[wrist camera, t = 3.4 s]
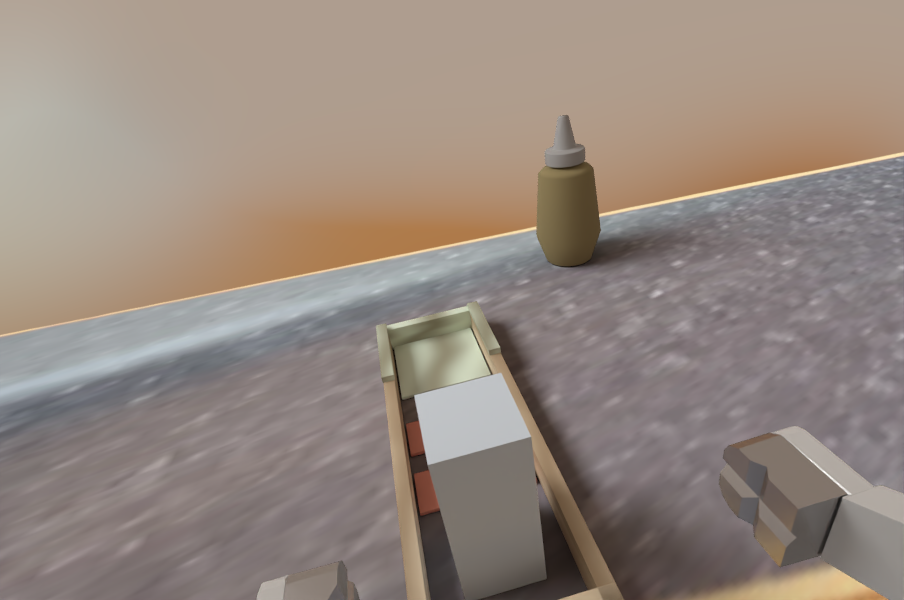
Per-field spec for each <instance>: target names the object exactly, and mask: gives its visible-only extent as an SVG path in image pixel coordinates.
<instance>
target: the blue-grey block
mask: <svg viewBox="0 0 904 600" xmlns="http://www.w3.org/2000/svg"><path fill="white" fill-rule="evenodd" d="M414 397H415V402H416V407H417V413H418V418H419V423H420V428H421V433H422V438H423V443H424V449H425V454H426V459H427V464H428V468H429V472H430V475H431V479H432V482H433V486H434V490H435V493H436V497H437V500H438V504H439V508H440V511H441V515H442V519H443V522H444V526H445V529H446V533H447V537H448V540H449V544H450V547H451V551H452V555H453V558H454V562H455V565H456V569H457V573H458V576H459V580H460V583H461V587H462V591H463V594H464V598H465V600H479V599H482V598H486V597H489V596H492V595H495V594H499V593H502V592H505V591H509V590H512V589H515V588H518V587H522V586H525V585H528V584H532V583H535V582H538V581H541V580H545V579H547V575H546V566H545V557H544V548H543V539H542V529H541V520H540V511H539V502H538V493H537V484H536V475H535V466H534V457H533V448H532V439H531V435H530V433H529V431H528V429H527V427H526V424H525V422H524V420H523V418H522V416H521V414H520V412H519V410H518V407H517V405H516V403H515V401H514V399H513V397H512V395H511V393H510V391H509V388H508V386H507V384H506V382H505V380H504V378H503V376H502V374H501V373H498V374H494V375H490V376H486V377H482V378H479V379H475V380H471V381H467V382H463V383H459V384H456V385H452V386H448V387H444V388H440V389H436V390H433V391H429V392H425V393H421V394H417V395H414Z"/></svg>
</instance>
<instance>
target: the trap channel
mask: <svg viewBox="0 0 904 600" xmlns="http://www.w3.org/2000/svg"><path fill="white" fill-rule="evenodd" d="M472 329H473V332H474V334H475V336H476V338H477V341H478V343H479V345H480V347H481V350H482V352H483V354H484V357H485V359H486V361H487V363H488V366H489V368H490V370H491V372H492V375H494V374H498V373H501V374H502V376H503V378H504V380H505V382H506V384H507V386H508V388H509V391H510V393H511V395H512V397H513V399H514V401H515V403H516V405H517V407H518V410H519V412H520V414H521V416H522V418H523V420H524V422H525V424H526V427H527V429H528V431H529V433H530V435H531V439H532V448H533V457H534V466H535V472H536V474H537V476H538V478H539V481H540V483H541V485H542V487H543V490H544V492H545V494H546V496H547V499H548V501H549V503H550V506H551V508H552V510H553V512H554V515H555V517H556V519H557V521H558V524H559V526H560V528H561V530H562V533H563V535H564V537H565V539H566V542H567V544H568V546H569V548H570V551H571V553H572V555H573V557H574V560H575V562H576V564H577V566H578V569H579V571H580V573H581V576H582V578H583V580H584V582H585V585H586V587H587V589H588V591H584V592H581V593H578V594H575V595H572V596H568V597H565V598H562V599H559V600H624V599H623V597H622V595H621V593H620V591H619V589H618V587H617V585H616V583H615V581H614V579H613V577H612V575H611V573H610V571H609V569H608V567H607V565H606V563H605V561H604V559H603V557H602V555H601V553H600V551H599V549H598V547H597V545H596V543H595V541H594V539H593V537H592V535H591V533H590V531H589V529H588V527H587V525H586V523H585V521H584V519H583V517H582V515H581V513H580V511H579V509H578V507H577V505H576V503H575V501H574V499H573V497H572V495H571V493H570V491H569V489H568V487H567V485H566V483H565V481H564V479H563V477H562V475H561V473H560V471H559V469H558V467H557V465H556V463H555V461H554V459H553V457H552V455H551V453H550V451H549V449H548V447H547V445H546V443H545V441H544V439H543V437H542V435H541V433H540V431H539V429H538V427H537V425H536V423H535V421H534V419H533V417H532V415H531V413H530V411H529V409H528V407H527V405H526V403H525V401H524V399H523V397H522V395H521V393H520V391H519V389H518V387H517V385H516V383H515V381H514V379H513V377H512V375H511V373H510V371H509V369H508V367H507V365H506V363H505V361H504V359H503V357H502V355H501V349H500V346H499V344H498V342H497V340H496V338H495V336H494V334H493V332H492V330H491V328H490V326H489V324H488V322H487V320H486V318H485V316H484V314H483V312H482V310H481V308H480V306H479V305H478V303H477V301H476V302H471V303H467V306H465V307H461V308H457V309H453V310H449V311H445V312H441V313H437V314H433V315H428V316H424V317H420V318H416V319H412V320H408V321H404V322H400V323H396V324H392V325H388V326H387V325H386V324H382V325H378V326H376V331H377V341H378V350H379V359H380V369H381V378H382V381H383V383H384V391H385V400H386V409H387V418H388V427H389V436H390V445H391V454H392V463H393V472H394V481H395V490H396V499H397V508H398V517H399V526H400V535H401V544H402V553H403V562H404V571H405V580H406V589H407V598H408V600H431V598H430V591H429V585H428V578H427V572H426V565H425V559H424V552H423V545H422V539H421V532H420V526H419V519H418V513H417V506H416V500H415V493H414V486H413V480H412V473H411V467H410V460H409V454H408V447H407V441H406V434H405V427H404V421H403V414H402V408H401V401H400V395H399V388H398V382H397V375H396V368H395V362H394V355H393V349H394V351H395V358H396V364H397V370H398V377H399V383H400V389H401V396H402V400H405V399H408V398H412V397H414V395H417V394H421V393H425V392H429V391H433V390H436V389H440V388H444V387H448V386H452V385H456V384H459V383H463V382H467V381H471V380H475V379H479V378H482V377H486V376H490V375H491V374H490V371H489V369H488V367H487V364H486V362H485V360H484V358H483V355H482V353H481V351H480V348H479V346H478V344H477V342H476V339H475V337H474V335H473V332H472ZM406 427H407V434H408V440H409V446H410V453H411V457H413V456H416V455H420V454H424V453H425V449H424V443H423V438H422V433H421V428H420V423H419V421H415V422H411V423H407V424H406ZM414 478H415V484H416V491H417V497H418V503H419V510H420V515H421V516H423V515H426V514H430V513H433V512H437V511H440V508H439V504H438V500H437V497H436V493H435V490H434V486H433V482H432V479H431V475H430V472H429V470H426V471H423V472H419V473H415V474H414ZM536 483H537V479H536Z"/></svg>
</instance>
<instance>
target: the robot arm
mask: <svg viewBox="0 0 904 600" xmlns="http://www.w3.org/2000/svg"><path fill="white" fill-rule="evenodd" d="M723 459H724V460H725V461H726V462H727V463H728V464H727V465H726V466H725V467H724V469H723V470H722V471H721V472H720V479H719V485H720V488H721V492H722V495H723V497H724V499H725V501H726V502H727V504H728V506H729V507H730V508H731V510H732V511H733V512H734V513H735V514H736V516H737V517H738V518H740V519H742V520H744V521H746V522H748V523H750V524H752V525H753V531H754V537H755V538H756V540H757V541H758V542H759V543H760V544H761V546H762V547H763V548H764V549H765V550H766V551H767V553H768V554H769V555H770V556H771V557H772V559H773V560H774V561H775V562H776V563H777V564H778V566H779V567H783V566H787V565H790V564H794V563H797V562H800V561H804V560H807V559H811V558H814V557H818V556H821V557H820V559H822V560H823V561H825V562H827V563H828V564H830V565H832V566H833V567H835V568H837V569H839V570H840V571H842V572H844V573H845V574H847V575H849V576H850V577H852V578H854V579H855V580H857V581H859V582H860V583H862V584H864V585H865V586H867V587H869V588H870V589H872V590H874V591H875V592H877V593H879V594H880V595H882V596H884V597H885V598H887V599H889V600H904V494H903V493H900V492H898V491H895V490H893V489H890V488H887V487H885V486H882V485H879V486H875V487H874V486H872V485H871V484H870V483H869V482H868V481H866V480H865V479H864V478H863V477H862V476H860V475H859V474H858V473H857V472H855V471H854V470H853V469H852V468H851V467H849V466H848V465H847V464H846V463H845V462H843V461H842V460H841V459H840V458H838V457H837V456H836V455H835V454H834V453H832V452H831V451H830V450H829V449H828V448H826V447H825V446H824V445H823V444H821V443H820V442H819V441H818V440H817V439H815V438H814V437H813V436H812V435H810V434H809V433H808V432H807V431H806V430H804V429H802V428H800V427H797V426H793V427H788V428H785V429H782V430H779V431H775V432H772V433H767V434H763V435H760V436H757V437H754V438H751V439H748V440H744V441H741V442H738V443H735V444H732V445H729V446H728V447H727V448H726V449H724V454H723ZM256 600H360V599H359V596H358V592H357V589H356V587H355V585H354V583H353V582H350V581H348V580H347V568H346V567H345V565H344V563H343V561H342V560H341V561H338V562H334V563H331V564H327V565H324V566H320V567H317V568H313V569H310V570H306V571H303V572H299V573H296V574H292V575H287V576H284V577H281V578H277V579H274V580H271V581H267V582H264V583H262V584H261V587H260V589H259V591H258V594H257V599H256Z"/></svg>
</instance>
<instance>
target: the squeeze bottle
mask: <svg viewBox="0 0 904 600" xmlns="http://www.w3.org/2000/svg"><path fill="white" fill-rule="evenodd" d="M584 160H585V147H584V146H583V145H581V144H575V140H574V136H573V132H572V128H571V124H570V120H569V116H568V115H563V116H559V117H558V120H557V126H556V133H555V139H554V145H553V147H550V148H548V149H546V151H545V164H546V165H547V166H545V167H544V168H543V169H542V170H541V171H540V172H539V173H538V200H537V201H538V203H537V233H536V234H537V237H538V240H539V242H540V245H541V247H542V249H543V251H544V254H545V256H546V258H547V260H548V261H549V262H550V263H552V264H555V265H558V266H575V265H580V264H583V263H585V262H587V261H588V260H590V259H591V256H592V254H593V251H594V248H595V245H596V242H597V239H598V237H599V234H600V231H601V229H600V220H599V212H598V204H597V195H596V186H595V178H594V170H593V167H592V166H591V165H590V164H588V163H587V162H584Z"/></svg>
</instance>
